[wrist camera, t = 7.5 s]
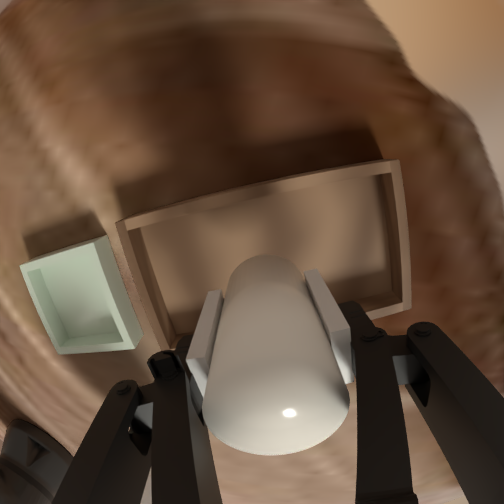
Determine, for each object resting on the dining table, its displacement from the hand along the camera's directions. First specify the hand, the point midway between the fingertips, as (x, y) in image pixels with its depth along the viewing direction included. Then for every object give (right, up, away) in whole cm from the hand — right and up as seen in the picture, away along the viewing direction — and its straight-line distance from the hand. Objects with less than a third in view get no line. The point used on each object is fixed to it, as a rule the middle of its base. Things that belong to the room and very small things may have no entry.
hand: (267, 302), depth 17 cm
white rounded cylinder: (0, 0, +1) cm, 1 cm away
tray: (+1, +2, +7) cm, 8 cm away
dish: (-17, -1, +9) cm, 19 cm away
